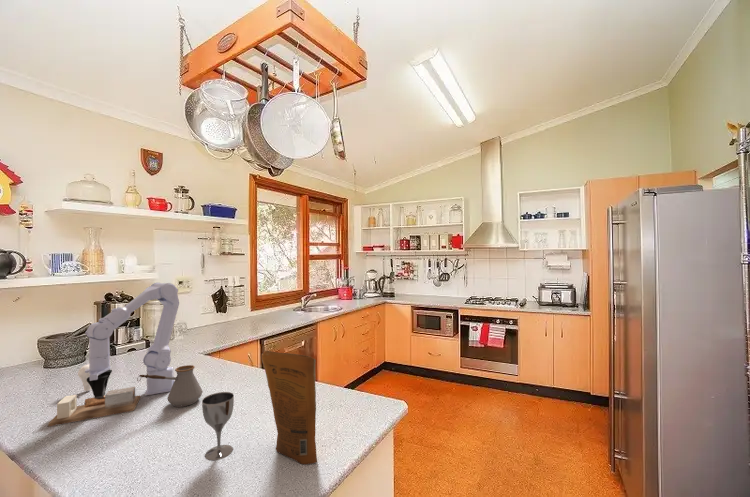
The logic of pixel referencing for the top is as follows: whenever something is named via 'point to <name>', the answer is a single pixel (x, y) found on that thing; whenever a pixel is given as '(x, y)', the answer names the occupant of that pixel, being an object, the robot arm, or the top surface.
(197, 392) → the coffee pot
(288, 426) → the pancake mix bag
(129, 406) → the walnut board
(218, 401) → the wine glass
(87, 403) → the brown piece
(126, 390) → the sleeve
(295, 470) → the top surface
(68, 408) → the cream rectangular block
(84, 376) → the lightbulb
